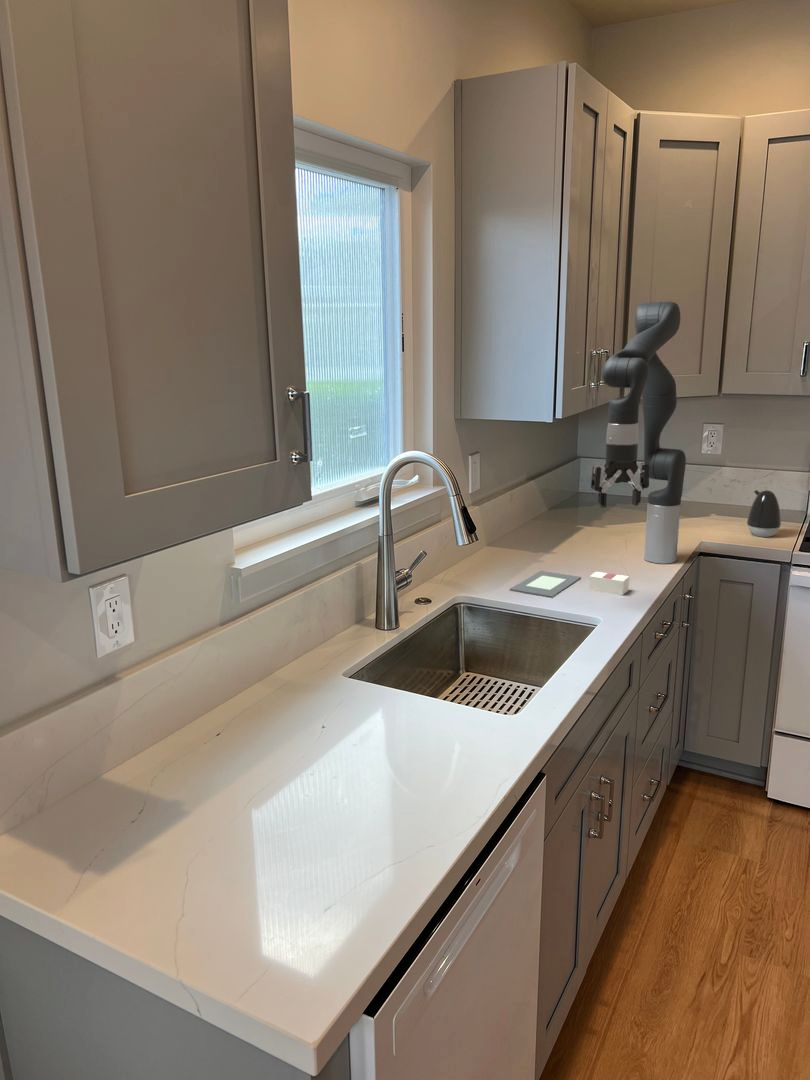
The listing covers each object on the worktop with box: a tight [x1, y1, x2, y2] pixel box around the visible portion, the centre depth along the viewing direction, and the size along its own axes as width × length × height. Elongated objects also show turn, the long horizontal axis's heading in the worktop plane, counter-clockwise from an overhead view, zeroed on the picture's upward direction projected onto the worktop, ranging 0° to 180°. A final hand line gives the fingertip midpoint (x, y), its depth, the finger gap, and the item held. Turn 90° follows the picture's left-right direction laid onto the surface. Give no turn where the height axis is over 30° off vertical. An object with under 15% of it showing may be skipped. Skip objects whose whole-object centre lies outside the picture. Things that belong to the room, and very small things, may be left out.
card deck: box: [588, 571, 630, 596], centre depth 209 cm, size 5×9×4 cm, turn 57°
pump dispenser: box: [746, 489, 782, 538], centre depth 263 cm, size 10×10×15 cm
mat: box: [509, 570, 582, 598], centre depth 215 cm, size 20×12×1 cm, turn 147°
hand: (618, 506), depth 198 cm, fingers open, 8 cm apart
